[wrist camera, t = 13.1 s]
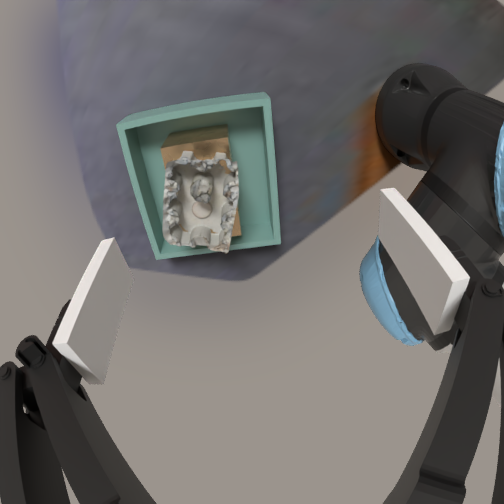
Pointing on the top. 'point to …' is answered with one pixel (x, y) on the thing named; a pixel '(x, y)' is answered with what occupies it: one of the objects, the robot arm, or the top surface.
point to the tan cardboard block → (201, 152)
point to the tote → (243, 151)
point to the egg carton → (200, 201)
